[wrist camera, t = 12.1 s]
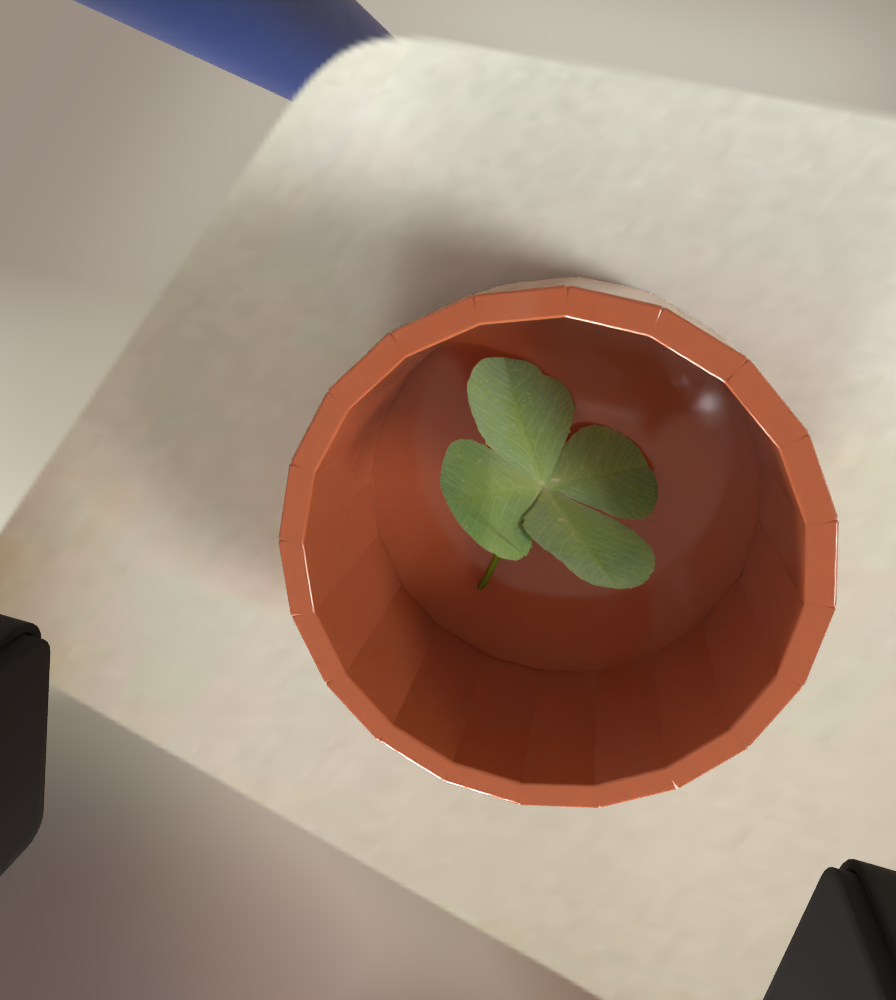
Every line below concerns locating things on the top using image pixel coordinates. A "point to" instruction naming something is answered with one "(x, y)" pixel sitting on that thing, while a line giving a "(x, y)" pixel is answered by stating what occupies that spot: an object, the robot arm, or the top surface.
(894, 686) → the top surface
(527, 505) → the green leafy piece
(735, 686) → the planter
